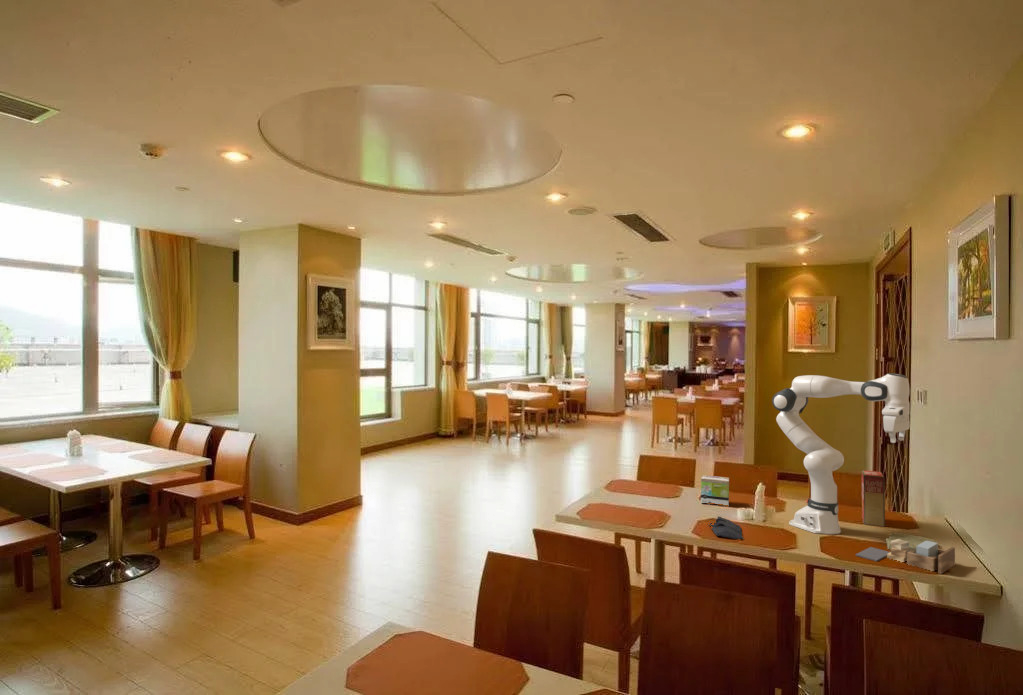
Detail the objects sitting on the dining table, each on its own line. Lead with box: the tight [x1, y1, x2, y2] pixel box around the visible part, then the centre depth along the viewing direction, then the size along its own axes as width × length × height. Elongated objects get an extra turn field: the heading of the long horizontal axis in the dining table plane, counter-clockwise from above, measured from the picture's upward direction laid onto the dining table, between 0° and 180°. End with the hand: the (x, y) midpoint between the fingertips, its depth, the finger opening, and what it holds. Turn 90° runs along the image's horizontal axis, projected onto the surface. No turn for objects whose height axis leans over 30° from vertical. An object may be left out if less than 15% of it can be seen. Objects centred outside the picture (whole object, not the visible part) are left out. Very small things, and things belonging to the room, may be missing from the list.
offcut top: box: [891, 539, 909, 550], centre depth 231 cm, size 4×6×2 cm, turn 116°
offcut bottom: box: [886, 551, 907, 563], centre depth 230 cm, size 6×10×2 cm, turn 125°
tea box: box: [700, 474, 730, 506], centre depth 312 cm, size 15×10×15 cm
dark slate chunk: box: [709, 516, 744, 540], centre depth 263 cm, size 15×22×5 cm
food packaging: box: [861, 470, 886, 528], centre depth 279 cm, size 13×9×25 cm
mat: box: [855, 546, 891, 562], centre depth 234 cm, size 8×15×1 cm, turn 126°
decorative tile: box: [885, 532, 937, 553], centre depth 243 cm, size 19×20×4 cm
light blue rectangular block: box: [916, 541, 939, 557], centre depth 224 cm, size 4×11×8 cm, turn 126°
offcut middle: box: [890, 547, 910, 558], centre depth 230 cm, size 5×8×2 cm, turn 132°
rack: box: [906, 546, 956, 575], centre depth 223 cm, size 12×16×7 cm
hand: (897, 441), depth 242 cm, fingers open, 8 cm apart
